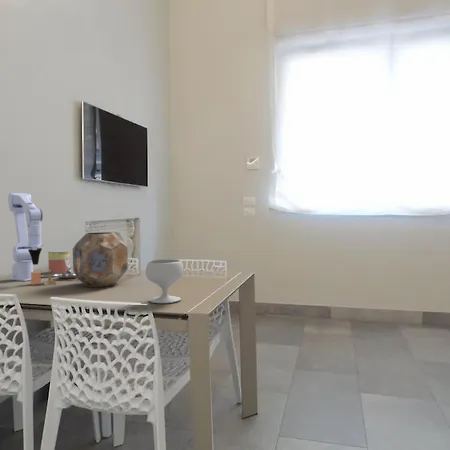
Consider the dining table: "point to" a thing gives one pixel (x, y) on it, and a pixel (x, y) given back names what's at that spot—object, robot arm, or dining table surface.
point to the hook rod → (40, 277)
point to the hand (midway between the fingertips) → (35, 264)
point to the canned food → (59, 261)
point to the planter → (100, 259)
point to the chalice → (164, 277)
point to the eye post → (49, 279)
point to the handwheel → (68, 274)
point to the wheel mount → (65, 279)
